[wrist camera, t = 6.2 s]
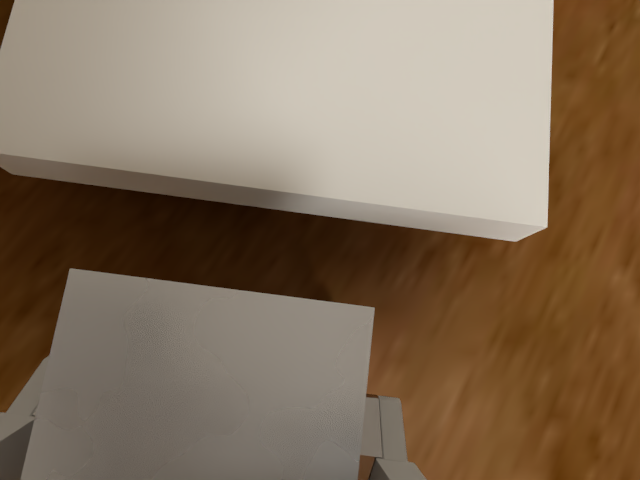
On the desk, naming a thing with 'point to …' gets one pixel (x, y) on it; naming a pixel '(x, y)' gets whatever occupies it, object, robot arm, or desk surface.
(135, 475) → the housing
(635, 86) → the desk surface
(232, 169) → the stand
